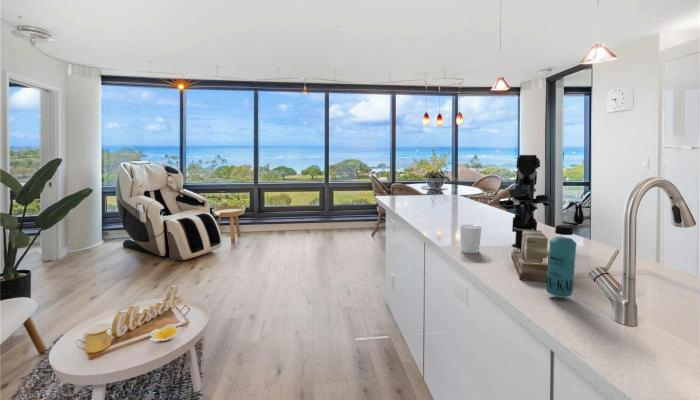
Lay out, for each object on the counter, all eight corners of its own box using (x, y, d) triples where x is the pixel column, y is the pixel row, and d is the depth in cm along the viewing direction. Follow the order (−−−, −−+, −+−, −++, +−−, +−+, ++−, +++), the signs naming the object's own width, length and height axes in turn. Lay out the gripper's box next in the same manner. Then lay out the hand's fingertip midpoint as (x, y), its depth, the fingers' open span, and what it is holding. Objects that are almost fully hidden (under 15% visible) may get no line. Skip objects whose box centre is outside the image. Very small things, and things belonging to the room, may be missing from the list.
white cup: (481, 254, 145) (482, 228, 143) (460, 253, 146) (461, 228, 145) (478, 249, 152) (480, 224, 151) (458, 248, 154) (459, 224, 153)
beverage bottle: (546, 291, 107) (551, 222, 104) (573, 296, 103) (579, 224, 100) (543, 299, 101) (548, 226, 99) (571, 304, 98) (577, 229, 95)
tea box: (520, 253, 138) (522, 229, 137) (539, 255, 136) (540, 230, 135) (525, 264, 126) (527, 237, 124) (546, 265, 124) (547, 238, 123)
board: (511, 256, 141) (512, 243, 140) (546, 259, 137) (547, 245, 137) (520, 279, 116) (520, 263, 116) (563, 283, 113) (564, 266, 112)
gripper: (492, 181, 148) (489, 219, 144) (540, 174, 134) (538, 216, 129) (507, 190, 154) (504, 227, 150) (555, 184, 140) (553, 225, 136)
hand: (524, 224), depth 141 cm, fingers closed
